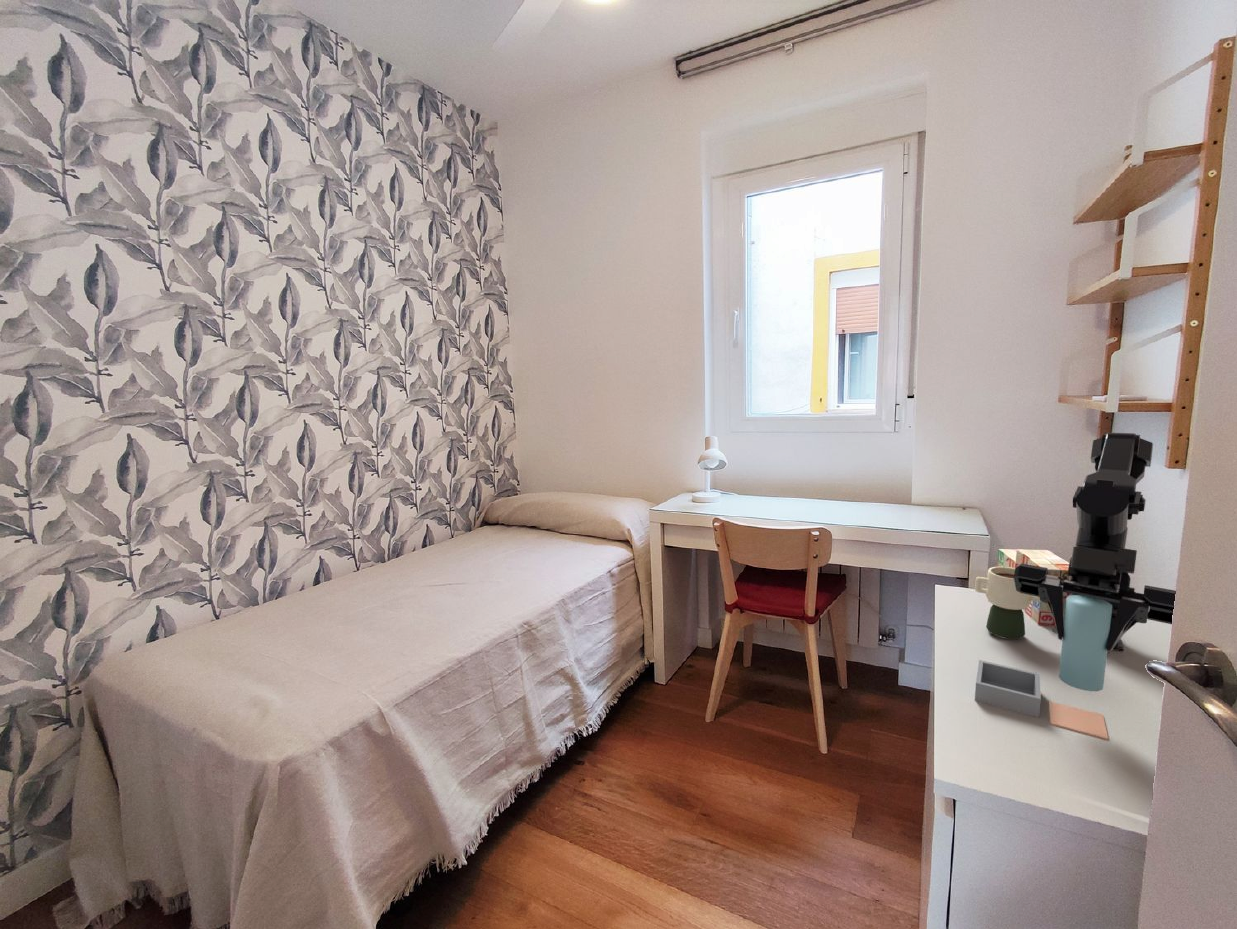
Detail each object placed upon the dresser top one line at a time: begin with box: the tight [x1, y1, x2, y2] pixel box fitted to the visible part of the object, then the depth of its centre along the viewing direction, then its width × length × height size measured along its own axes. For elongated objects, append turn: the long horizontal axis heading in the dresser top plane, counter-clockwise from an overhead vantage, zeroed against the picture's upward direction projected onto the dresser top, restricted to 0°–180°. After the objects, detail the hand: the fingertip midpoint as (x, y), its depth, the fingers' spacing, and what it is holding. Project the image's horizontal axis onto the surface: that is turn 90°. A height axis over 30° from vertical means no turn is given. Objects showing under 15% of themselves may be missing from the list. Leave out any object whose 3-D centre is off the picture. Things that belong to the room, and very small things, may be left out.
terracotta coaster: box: [1048, 700, 1109, 741], centre depth 81 cm, size 6×6×1 cm
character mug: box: [974, 566, 1042, 640], centre depth 106 cm, size 11×7×13 cm, turn 56°
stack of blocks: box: [997, 548, 1073, 627], centre depth 119 cm, size 21×6×12 cm, turn 165°
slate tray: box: [974, 659, 1042, 718], centre depth 87 cm, size 8×8×3 cm
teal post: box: [1058, 595, 1112, 692], centre depth 79 cm, size 5×5×12 cm
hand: (1083, 644), depth 78 cm, fingers closed on teal post, 5 cm apart
